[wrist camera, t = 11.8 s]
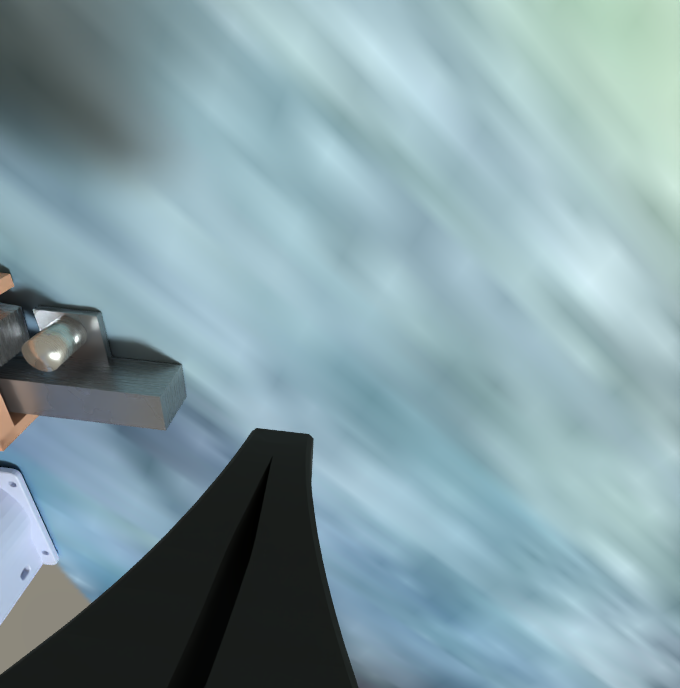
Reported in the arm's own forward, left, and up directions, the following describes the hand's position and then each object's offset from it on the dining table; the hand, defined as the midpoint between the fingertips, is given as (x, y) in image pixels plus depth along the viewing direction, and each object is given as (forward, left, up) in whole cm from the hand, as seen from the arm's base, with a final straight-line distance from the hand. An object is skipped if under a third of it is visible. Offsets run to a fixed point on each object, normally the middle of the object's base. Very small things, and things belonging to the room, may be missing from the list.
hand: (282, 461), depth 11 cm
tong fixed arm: (-5, +18, -10) cm, 21 cm away
